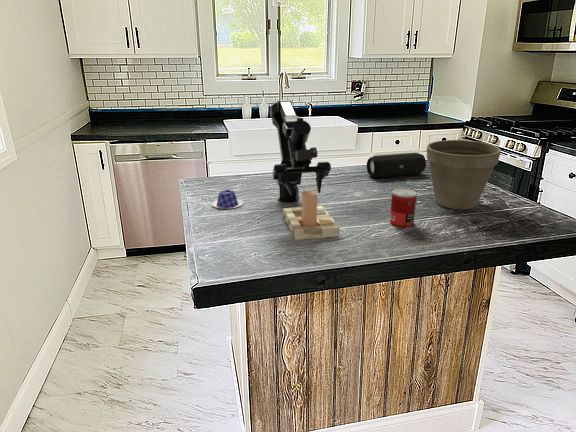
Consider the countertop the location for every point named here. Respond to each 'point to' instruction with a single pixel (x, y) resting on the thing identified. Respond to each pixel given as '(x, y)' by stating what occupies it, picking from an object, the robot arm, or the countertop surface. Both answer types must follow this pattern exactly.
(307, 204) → the plug
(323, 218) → the socket plate
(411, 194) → the canned food
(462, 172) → the plant pot
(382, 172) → the portable speaker
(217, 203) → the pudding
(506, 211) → the countertop surface
